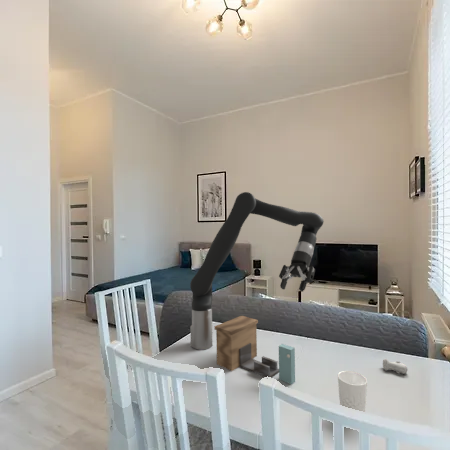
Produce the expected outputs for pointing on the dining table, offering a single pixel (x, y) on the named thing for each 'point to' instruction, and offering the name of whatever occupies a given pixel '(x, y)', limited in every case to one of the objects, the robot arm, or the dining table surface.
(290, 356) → the tall teal block
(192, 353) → the dining table surface
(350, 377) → the white cup
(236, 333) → the hinge cabinet
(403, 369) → the pale two-lobed sculpture
